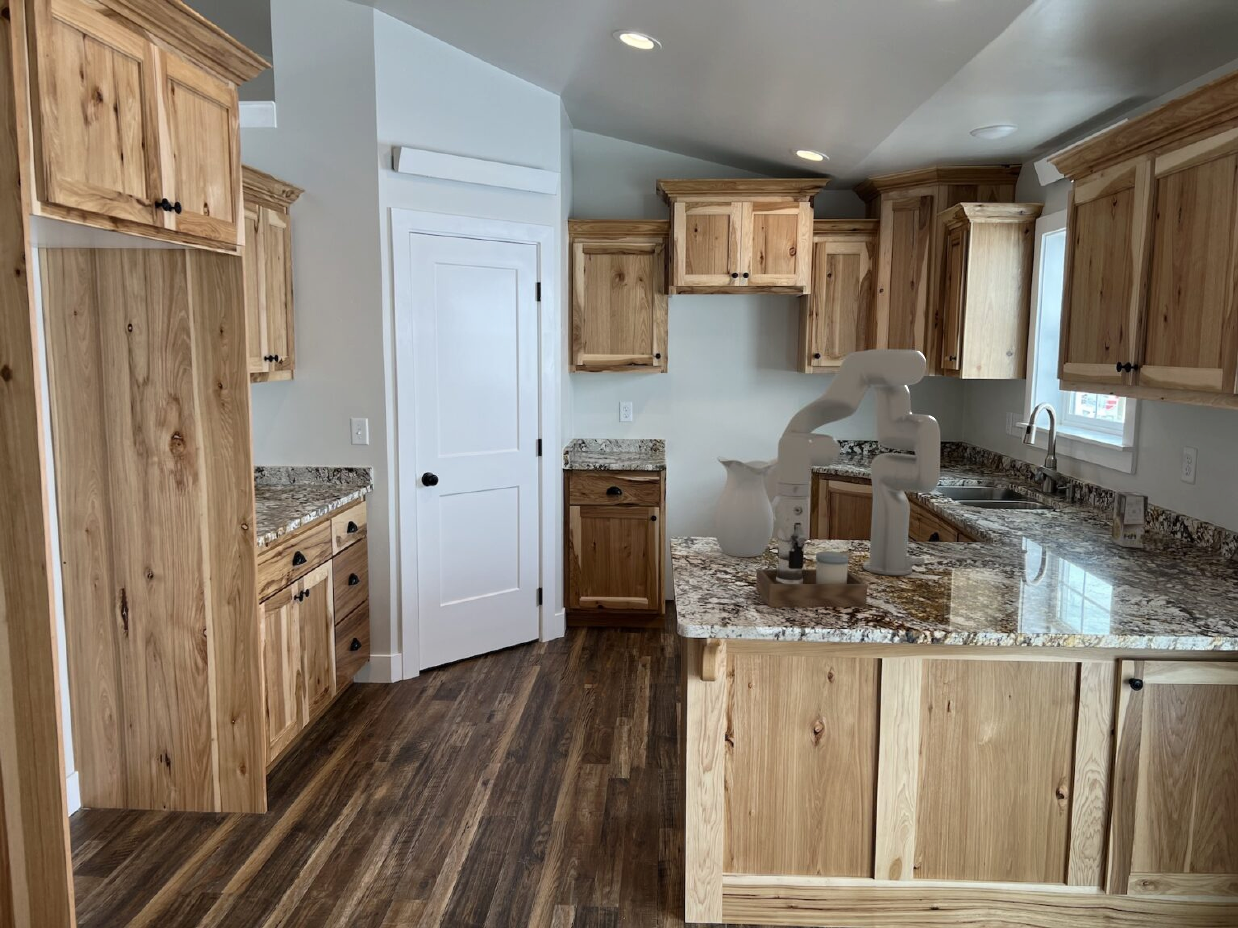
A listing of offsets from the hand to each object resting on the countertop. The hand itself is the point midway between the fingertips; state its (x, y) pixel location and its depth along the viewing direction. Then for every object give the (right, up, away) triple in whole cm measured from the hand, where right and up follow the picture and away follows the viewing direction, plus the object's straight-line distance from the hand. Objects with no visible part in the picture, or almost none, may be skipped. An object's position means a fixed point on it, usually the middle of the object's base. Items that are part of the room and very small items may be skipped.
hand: (789, 563), depth 195 cm
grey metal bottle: (0, -8, +1) cm, 9 cm away
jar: (+10, -8, +2) cm, 13 cm away
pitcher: (0, -3, +50) cm, 50 cm away
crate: (+5, -9, +2) cm, 11 cm away
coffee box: (+120, -2, +69) cm, 138 cm away
